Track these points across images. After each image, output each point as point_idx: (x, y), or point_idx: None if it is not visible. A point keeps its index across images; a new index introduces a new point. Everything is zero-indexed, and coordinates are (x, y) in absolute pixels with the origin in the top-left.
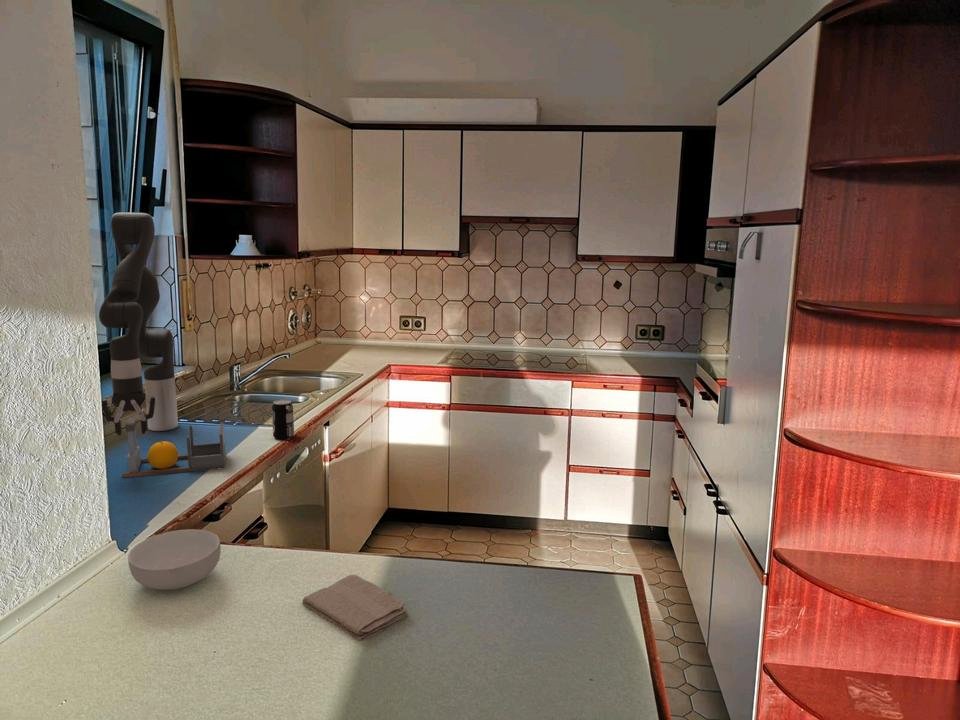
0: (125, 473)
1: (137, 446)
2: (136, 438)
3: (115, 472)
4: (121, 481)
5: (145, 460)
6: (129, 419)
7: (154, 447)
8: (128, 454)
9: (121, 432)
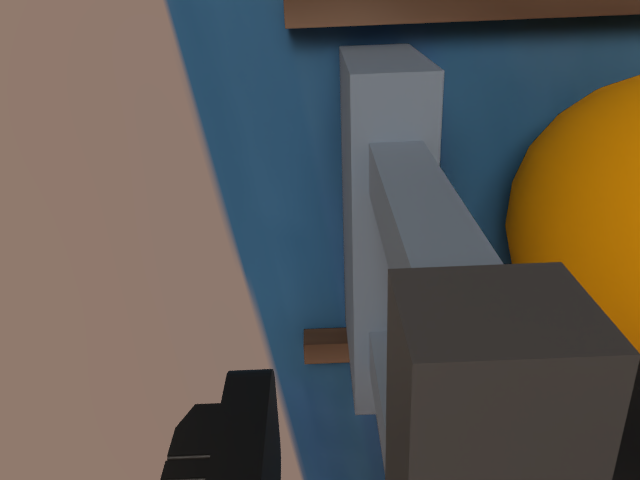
0: (331, 360)
1: (420, 88)
2: (449, 188)
3: (229, 229)
4: (316, 411)
5: (451, 21)
6: (441, 449)
7: (635, 342)
8: (357, 355)
9: (276, 443)
